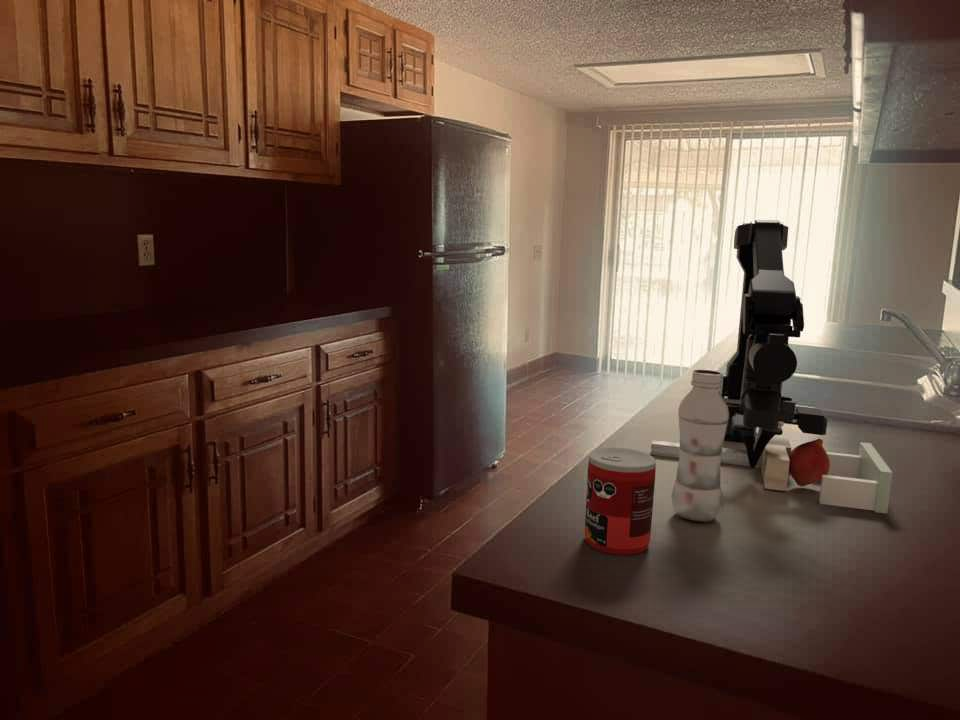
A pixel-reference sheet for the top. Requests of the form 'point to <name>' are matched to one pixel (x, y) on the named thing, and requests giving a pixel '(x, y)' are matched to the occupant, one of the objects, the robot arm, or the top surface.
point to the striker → (776, 463)
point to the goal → (857, 480)
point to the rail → (726, 456)
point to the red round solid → (808, 463)
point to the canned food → (619, 500)
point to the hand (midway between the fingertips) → (752, 467)
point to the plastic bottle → (701, 448)
